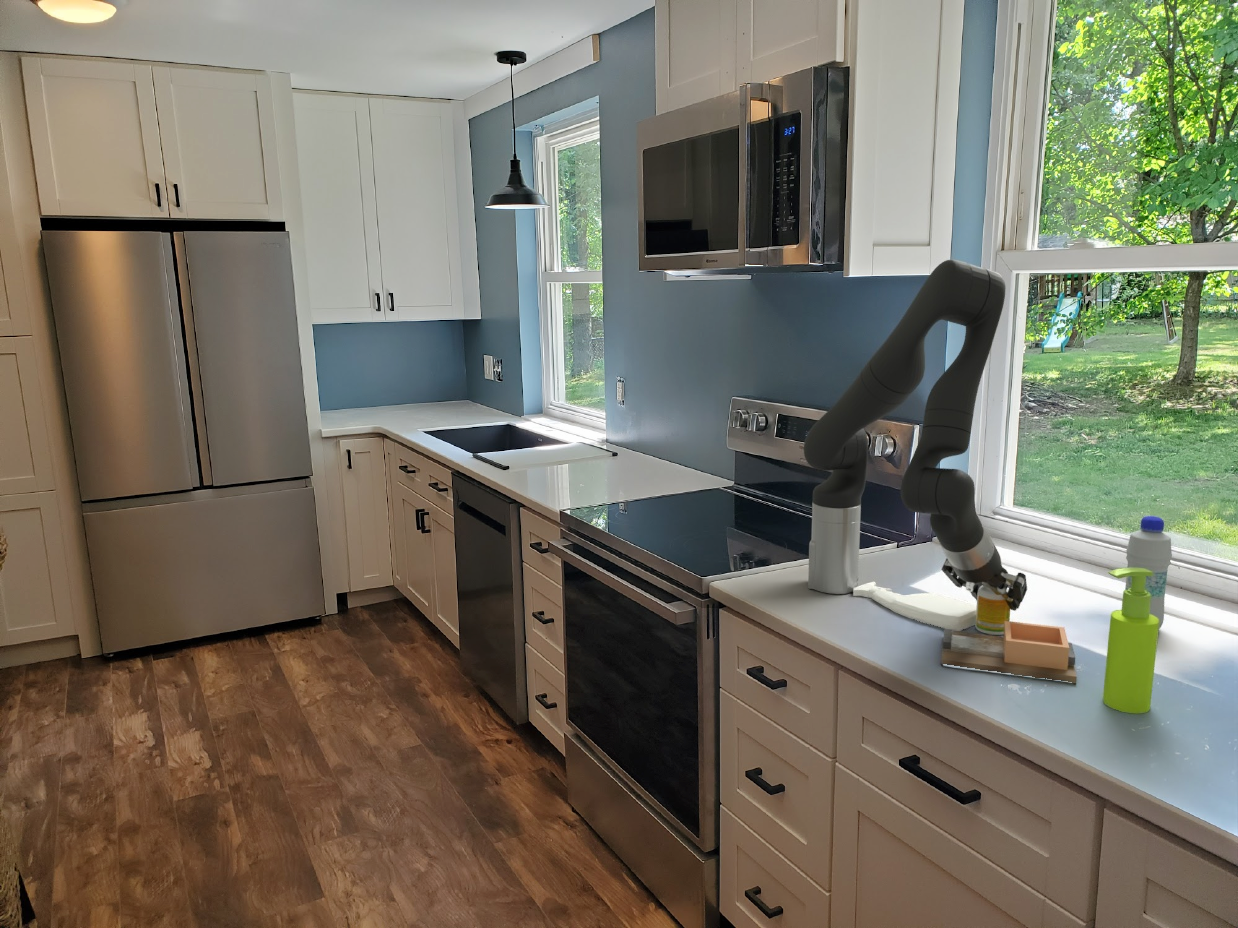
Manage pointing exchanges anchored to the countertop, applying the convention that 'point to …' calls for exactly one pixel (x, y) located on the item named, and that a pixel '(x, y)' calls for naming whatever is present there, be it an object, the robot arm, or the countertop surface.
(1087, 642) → the countertop surface
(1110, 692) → the soap dispenser
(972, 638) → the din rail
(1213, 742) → the countertop surface
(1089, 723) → the countertop surface
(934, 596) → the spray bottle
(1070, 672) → the rail board
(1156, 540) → the bottle
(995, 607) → the supplement bottle
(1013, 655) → the orange open box
